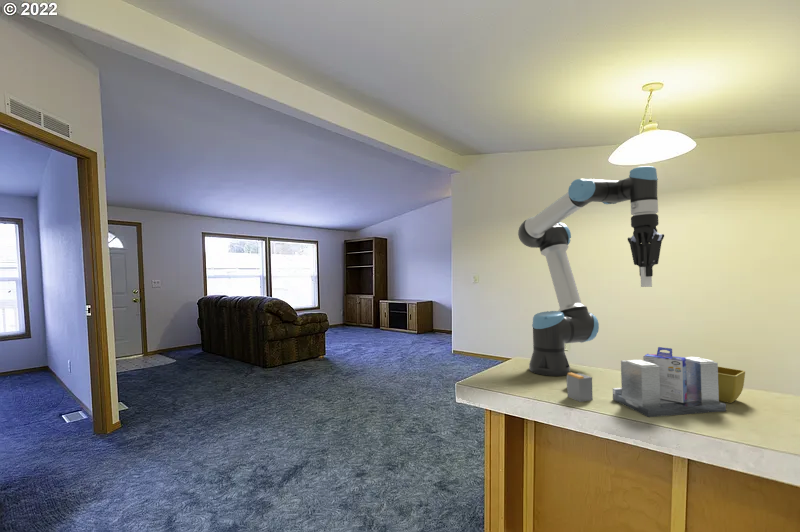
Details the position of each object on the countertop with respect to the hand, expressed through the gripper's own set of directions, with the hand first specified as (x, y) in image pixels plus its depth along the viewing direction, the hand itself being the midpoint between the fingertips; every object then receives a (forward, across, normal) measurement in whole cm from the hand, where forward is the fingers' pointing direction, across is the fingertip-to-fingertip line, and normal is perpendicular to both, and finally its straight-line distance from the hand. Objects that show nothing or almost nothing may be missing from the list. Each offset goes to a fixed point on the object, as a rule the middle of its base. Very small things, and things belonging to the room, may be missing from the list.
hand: (646, 286), depth 122 cm
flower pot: (+35, +10, +16) cm, 39 cm away
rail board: (+34, +11, -4) cm, 36 cm away
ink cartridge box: (+33, +11, -4) cm, 34 cm away
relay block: (+35, +1, -25) cm, 43 cm away
